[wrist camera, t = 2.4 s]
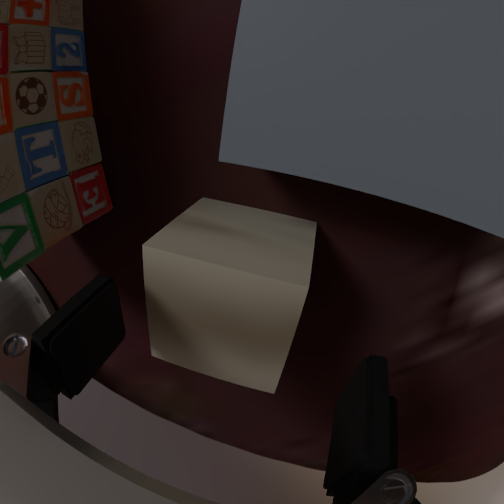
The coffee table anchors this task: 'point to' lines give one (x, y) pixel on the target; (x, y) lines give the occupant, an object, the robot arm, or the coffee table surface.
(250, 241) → the cream block
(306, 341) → the coffee table surface
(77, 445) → the robot arm
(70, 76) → the stack of blocks
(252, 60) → the slate base plinth
